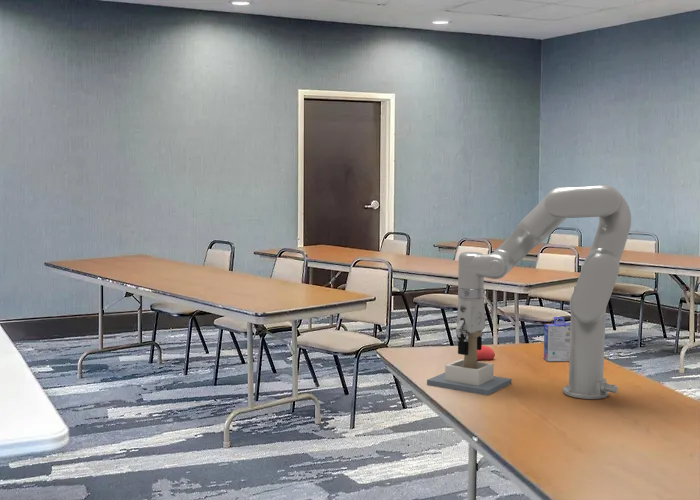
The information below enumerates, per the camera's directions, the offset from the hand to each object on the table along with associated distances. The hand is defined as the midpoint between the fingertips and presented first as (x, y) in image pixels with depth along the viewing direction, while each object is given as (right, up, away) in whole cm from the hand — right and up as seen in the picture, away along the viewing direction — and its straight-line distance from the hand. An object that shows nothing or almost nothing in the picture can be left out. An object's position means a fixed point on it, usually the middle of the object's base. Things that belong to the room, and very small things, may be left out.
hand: (469, 351), depth 244 cm
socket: (0, -10, +1) cm, 10 cm away
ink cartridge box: (+35, -7, +33) cm, 49 cm away
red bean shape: (+9, -7, +34) cm, 35 cm away
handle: (0, -9, +1) cm, 9 cm away
